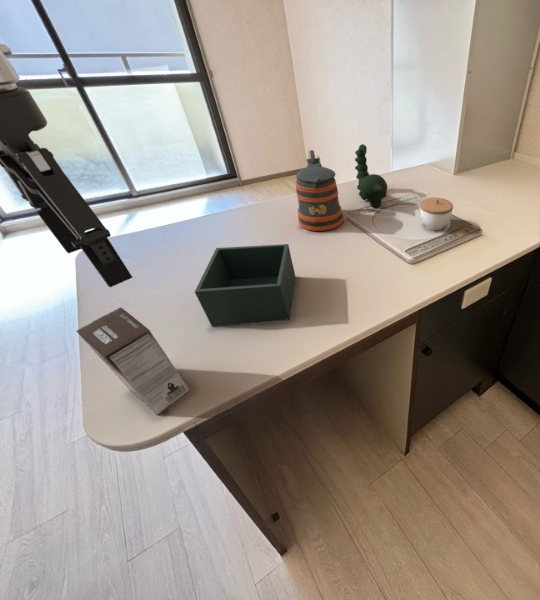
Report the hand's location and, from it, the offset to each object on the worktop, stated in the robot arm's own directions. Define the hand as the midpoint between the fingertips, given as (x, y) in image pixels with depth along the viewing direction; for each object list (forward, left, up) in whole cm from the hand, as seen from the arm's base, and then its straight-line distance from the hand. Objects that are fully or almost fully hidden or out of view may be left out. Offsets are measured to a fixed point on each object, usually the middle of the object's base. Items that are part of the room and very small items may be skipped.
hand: (98, 264), depth 46 cm
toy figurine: (+45, +75, -25) cm, 91 cm away
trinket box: (+64, +52, -25) cm, 86 cm away
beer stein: (+26, +61, -25) cm, 71 cm away
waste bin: (+12, +20, -25) cm, 34 cm away
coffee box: (-1, -4, -25) cm, 25 cm away
